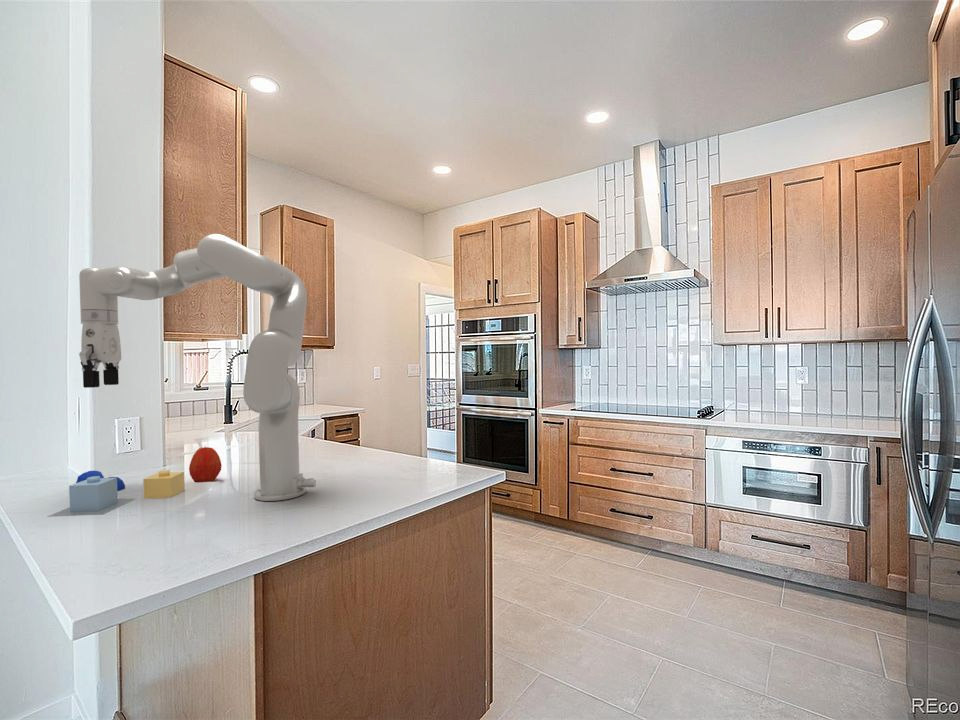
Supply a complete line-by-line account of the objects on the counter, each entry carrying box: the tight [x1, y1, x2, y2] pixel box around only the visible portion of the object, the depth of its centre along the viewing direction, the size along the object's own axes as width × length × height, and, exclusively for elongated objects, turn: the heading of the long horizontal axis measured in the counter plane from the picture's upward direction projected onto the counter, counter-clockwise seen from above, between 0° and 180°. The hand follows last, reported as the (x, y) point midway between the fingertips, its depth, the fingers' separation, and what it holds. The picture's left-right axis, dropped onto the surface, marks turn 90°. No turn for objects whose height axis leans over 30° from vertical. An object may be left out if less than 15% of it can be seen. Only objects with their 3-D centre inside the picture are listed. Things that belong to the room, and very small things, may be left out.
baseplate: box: [47, 497, 138, 518], centre depth 117 cm, size 12×12×2 cm
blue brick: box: [68, 476, 119, 512], centre depth 117 cm, size 6×6×7 cm
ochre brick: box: [142, 469, 185, 499], centre depth 126 cm, size 6×6×7 cm
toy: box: [75, 470, 126, 492], centre depth 133 cm, size 7×6×15 cm
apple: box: [188, 446, 223, 483], centre depth 141 cm, size 8×8×11 cm
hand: (101, 386), depth 125 cm, fingers open, 9 cm apart
